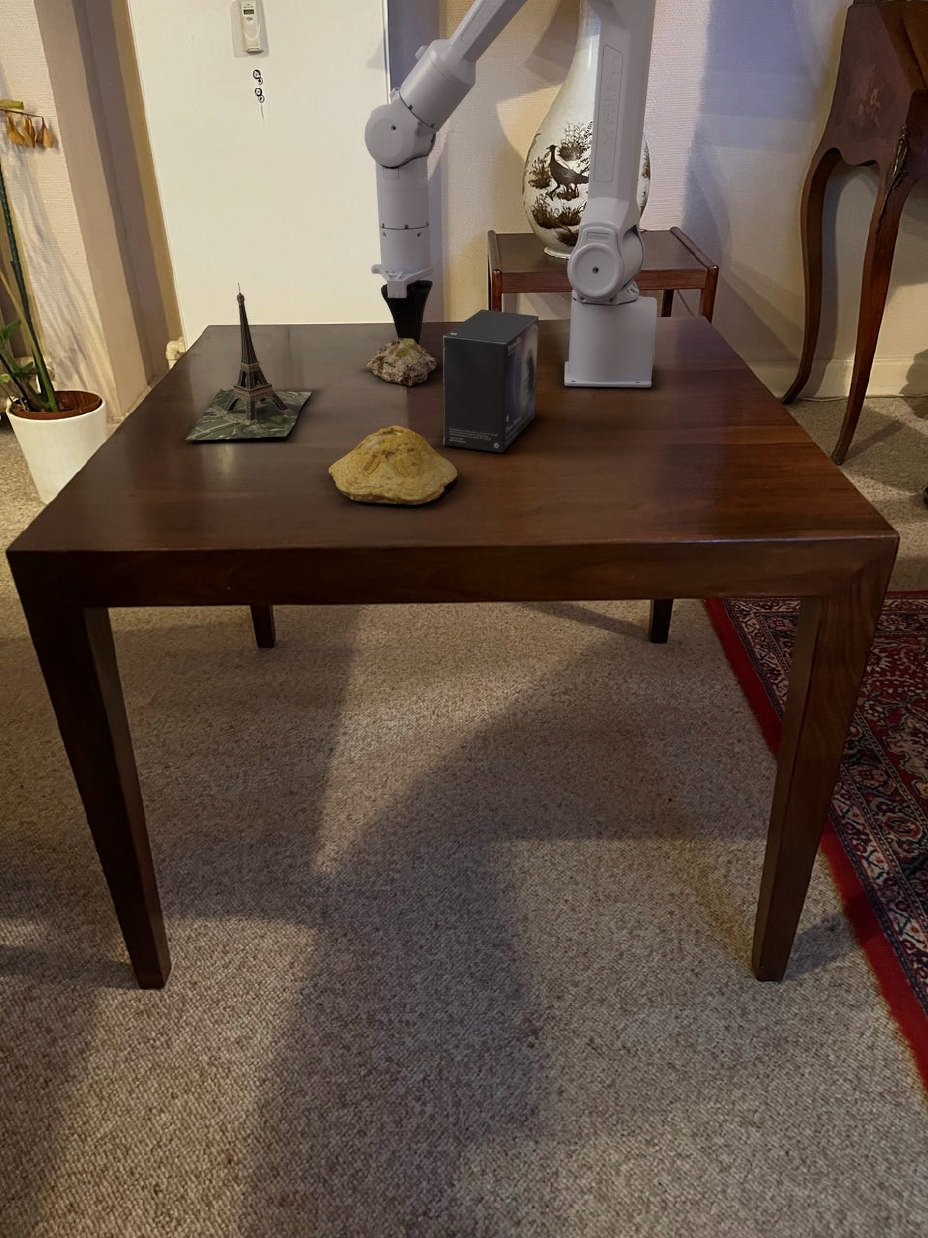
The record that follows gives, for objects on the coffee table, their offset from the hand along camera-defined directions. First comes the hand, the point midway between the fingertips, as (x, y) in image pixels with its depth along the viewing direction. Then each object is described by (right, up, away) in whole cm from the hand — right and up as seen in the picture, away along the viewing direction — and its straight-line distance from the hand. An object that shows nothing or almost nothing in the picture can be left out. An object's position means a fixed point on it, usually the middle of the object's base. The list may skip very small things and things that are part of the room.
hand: (409, 345), depth 112 cm
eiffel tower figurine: (-15, -12, -16) cm, 25 cm away
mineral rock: (-1, -5, -4) cm, 7 cm away
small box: (+9, -15, -21) cm, 27 cm away
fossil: (0, -21, -31) cm, 38 cm away
